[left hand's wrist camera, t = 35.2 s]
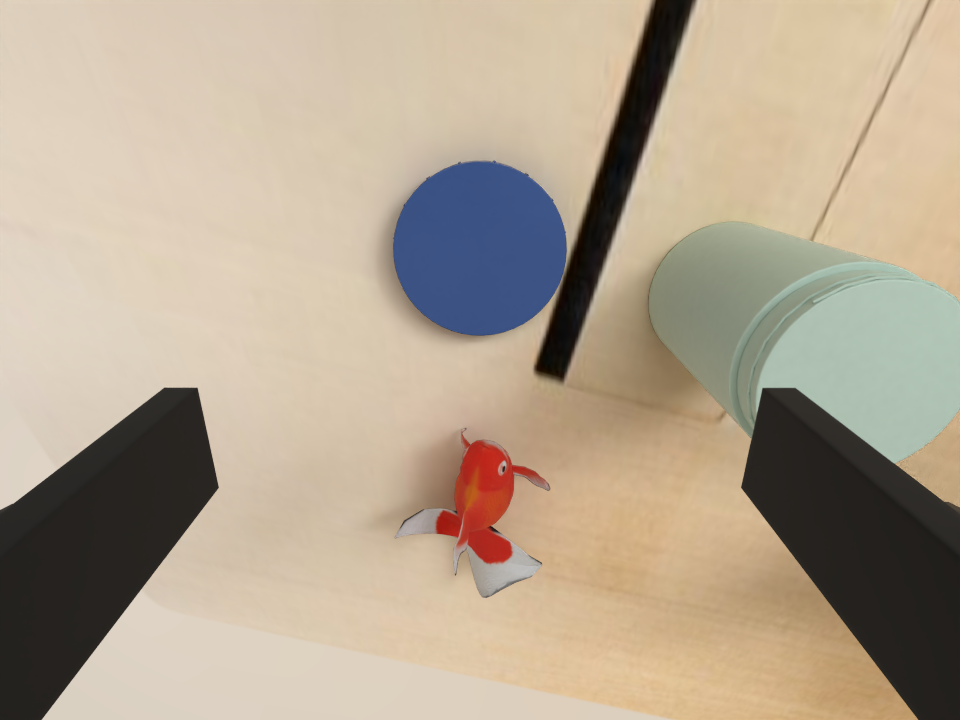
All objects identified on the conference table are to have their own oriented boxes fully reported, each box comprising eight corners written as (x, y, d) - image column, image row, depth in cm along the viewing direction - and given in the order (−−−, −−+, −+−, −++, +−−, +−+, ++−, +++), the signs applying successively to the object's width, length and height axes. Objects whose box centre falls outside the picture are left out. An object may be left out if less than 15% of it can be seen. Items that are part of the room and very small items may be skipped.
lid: (428, 133, 34) (425, 132, 32) (588, 198, 36) (595, 201, 34) (377, 294, 38) (372, 302, 36) (524, 346, 40) (527, 357, 38)
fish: (615, 464, 38) (564, 584, 31) (534, 550, 49) (484, 652, 42) (486, 382, 39) (411, 479, 32) (436, 483, 50) (372, 572, 44)
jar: (814, 318, 39) (1009, 420, 25) (682, 385, 41) (792, 515, 27) (764, 191, 36) (956, 222, 21) (623, 271, 38) (712, 348, 23)
